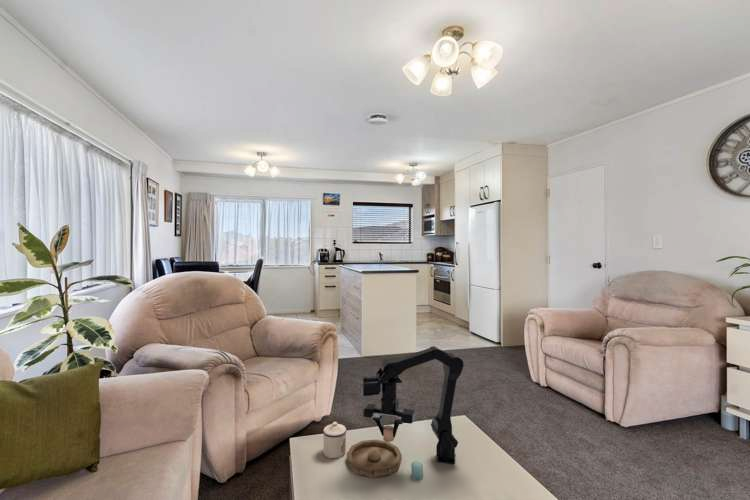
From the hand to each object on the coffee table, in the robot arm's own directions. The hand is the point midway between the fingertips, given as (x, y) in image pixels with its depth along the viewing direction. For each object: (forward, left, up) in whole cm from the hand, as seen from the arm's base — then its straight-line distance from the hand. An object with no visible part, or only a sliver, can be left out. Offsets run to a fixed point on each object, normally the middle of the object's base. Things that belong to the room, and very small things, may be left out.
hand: (388, 436), depth 131 cm
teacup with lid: (+23, -2, -10) cm, 25 cm away
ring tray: (+6, 0, -10) cm, 12 cm away
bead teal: (-11, +4, -10) cm, 16 cm away
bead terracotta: (0, 0, -1) cm, 1 cm away
